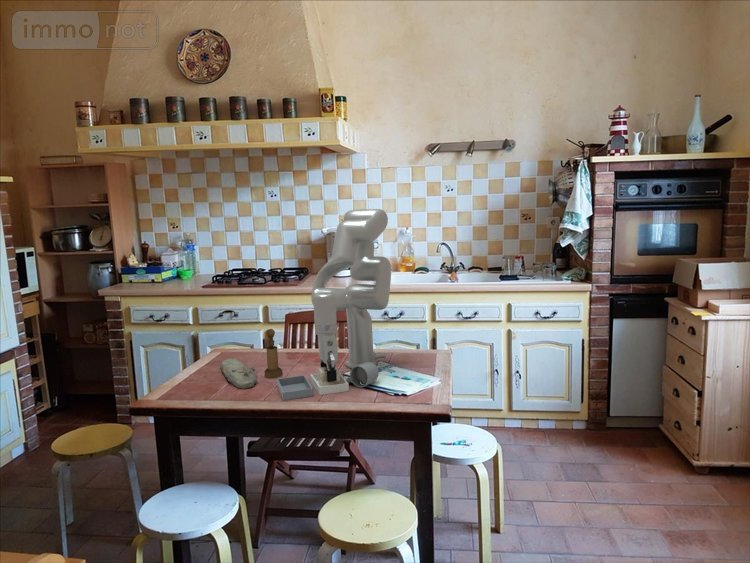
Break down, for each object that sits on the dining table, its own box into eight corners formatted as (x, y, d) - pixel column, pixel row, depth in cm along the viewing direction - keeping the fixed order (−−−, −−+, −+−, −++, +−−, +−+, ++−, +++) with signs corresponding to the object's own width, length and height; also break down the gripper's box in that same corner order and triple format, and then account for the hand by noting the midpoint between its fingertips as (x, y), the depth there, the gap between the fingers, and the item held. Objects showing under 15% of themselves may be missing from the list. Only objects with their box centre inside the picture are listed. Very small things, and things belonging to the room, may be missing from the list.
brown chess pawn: (278, 379, 203) (275, 331, 201) (261, 379, 205) (258, 331, 202) (285, 373, 210) (281, 327, 207) (268, 373, 211) (265, 327, 208)
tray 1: (305, 383, 198) (304, 375, 198) (313, 397, 184) (313, 388, 184) (277, 387, 195) (276, 378, 195) (283, 401, 181) (282, 392, 181)
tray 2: (338, 378, 202) (337, 370, 201) (348, 391, 188) (348, 383, 187) (310, 382, 199) (310, 374, 198) (319, 396, 185) (319, 387, 184)
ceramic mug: (381, 381, 196) (379, 360, 195) (368, 389, 190) (367, 367, 188) (355, 378, 202) (354, 357, 201) (342, 385, 195) (341, 364, 194)
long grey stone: (241, 366, 227) (216, 371, 223) (239, 353, 227) (214, 358, 223) (263, 386, 196) (235, 393, 192) (261, 371, 195) (233, 378, 191)
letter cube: (335, 381, 197) (334, 365, 196) (339, 387, 191) (338, 370, 190) (319, 384, 195) (318, 367, 194) (322, 389, 190) (321, 372, 189)
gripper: (343, 333, 183) (345, 383, 186) (330, 322, 199) (333, 368, 202) (320, 335, 181) (323, 386, 183) (310, 324, 197) (313, 371, 200)
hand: (328, 376), depth 193 cm, fingers open, 9 cm apart
